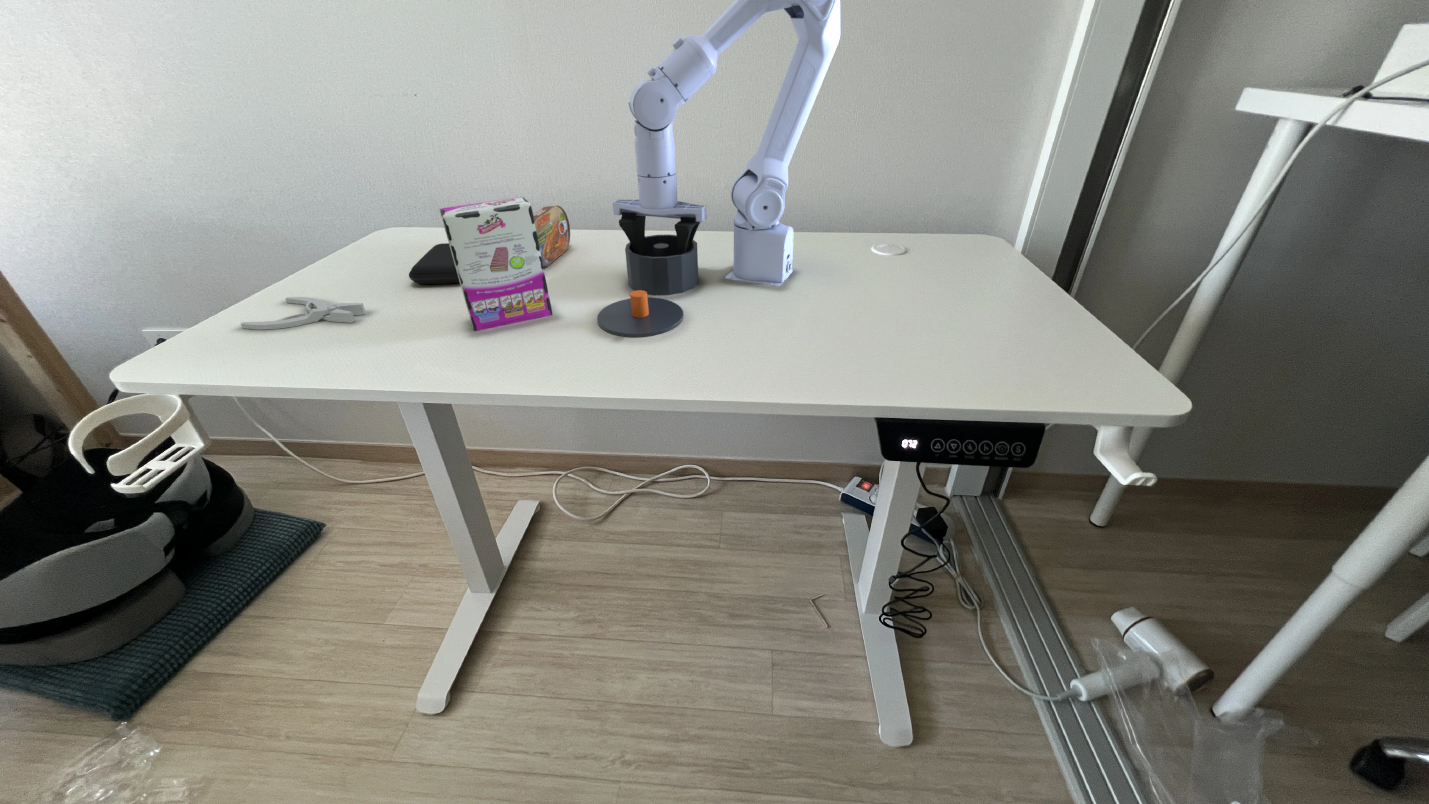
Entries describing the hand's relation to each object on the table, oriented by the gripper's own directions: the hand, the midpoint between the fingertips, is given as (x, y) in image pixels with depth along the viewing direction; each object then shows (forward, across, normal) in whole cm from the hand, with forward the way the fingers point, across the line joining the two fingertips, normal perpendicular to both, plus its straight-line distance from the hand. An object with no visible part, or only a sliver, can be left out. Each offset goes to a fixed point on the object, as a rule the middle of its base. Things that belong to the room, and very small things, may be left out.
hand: (662, 262), depth 93 cm
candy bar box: (+4, +16, +18) cm, 25 cm away
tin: (+4, +25, -6) cm, 26 cm away
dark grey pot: (+4, 0, 0) cm, 4 cm away
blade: (+3, 0, 0) cm, 3 cm away
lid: (+3, -2, +14) cm, 14 cm away
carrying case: (+4, +38, +4) cm, 38 cm away
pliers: (+4, +46, +26) cm, 53 cm away
